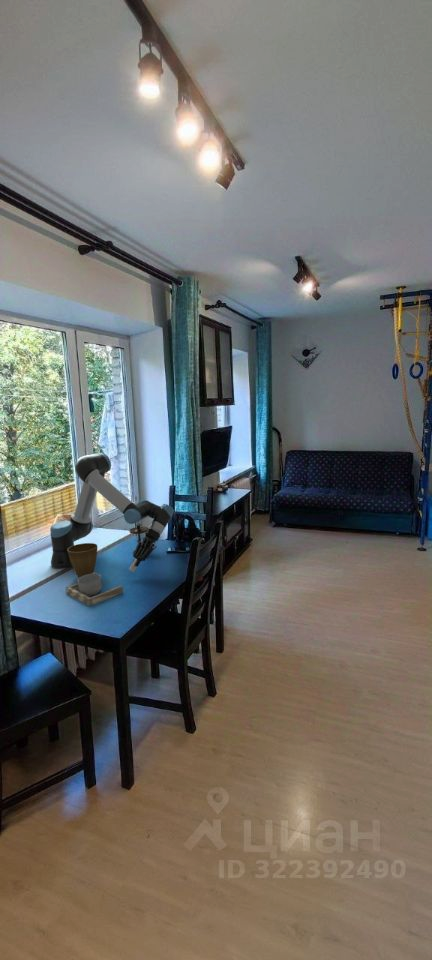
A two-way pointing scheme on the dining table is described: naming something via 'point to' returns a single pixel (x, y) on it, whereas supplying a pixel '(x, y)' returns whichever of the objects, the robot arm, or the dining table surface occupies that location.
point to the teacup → (90, 584)
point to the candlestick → (138, 528)
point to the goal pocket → (95, 599)
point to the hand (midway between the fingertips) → (131, 571)
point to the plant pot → (83, 558)
